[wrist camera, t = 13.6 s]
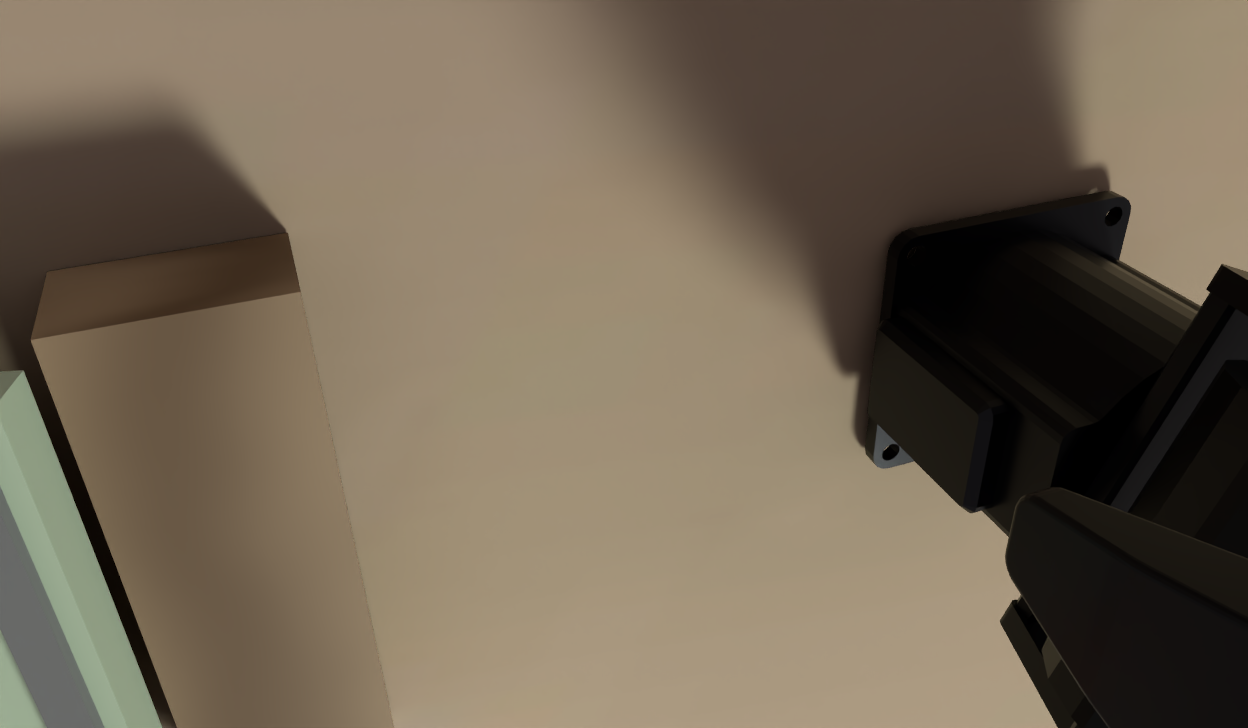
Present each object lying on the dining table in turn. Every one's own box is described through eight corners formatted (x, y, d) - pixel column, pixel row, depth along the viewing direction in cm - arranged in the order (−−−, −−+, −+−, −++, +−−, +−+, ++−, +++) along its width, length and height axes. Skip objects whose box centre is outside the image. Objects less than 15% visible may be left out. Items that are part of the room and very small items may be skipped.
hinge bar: (287, 232, 19) (300, 291, 17) (391, 715, 26) (409, 797, 24) (47, 271, 18) (30, 340, 16) (222, 764, 25) (225, 856, 23)
